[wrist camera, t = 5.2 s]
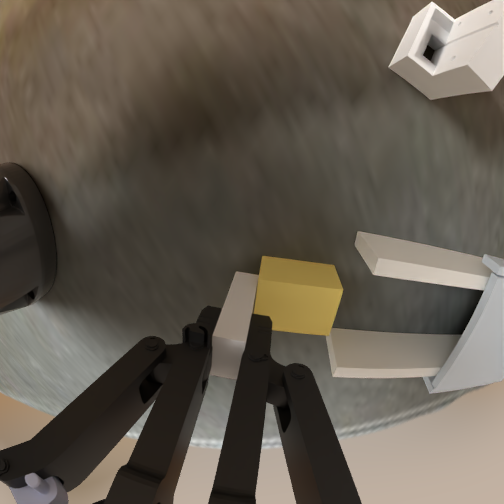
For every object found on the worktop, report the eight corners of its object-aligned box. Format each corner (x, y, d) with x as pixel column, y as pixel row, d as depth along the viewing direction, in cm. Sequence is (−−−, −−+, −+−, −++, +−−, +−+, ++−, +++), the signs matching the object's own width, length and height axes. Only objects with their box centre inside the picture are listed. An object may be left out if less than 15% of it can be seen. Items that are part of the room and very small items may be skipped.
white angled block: (478, 9, 7) (541, 17, 2) (421, 89, 15) (456, 133, 10) (439, -24, 7) (489, -39, 1) (382, 61, 14) (403, 87, 9)
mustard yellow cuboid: (256, 298, 20) (252, 327, 17) (262, 254, 19) (258, 279, 16) (322, 306, 20) (328, 335, 17) (333, 264, 18) (343, 289, 15)
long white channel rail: (325, 336, 21) (332, 376, 17) (357, 231, 17) (378, 257, 13) (486, 341, 20) (504, 366, 16) (522, 267, 16) (547, 288, 12)
